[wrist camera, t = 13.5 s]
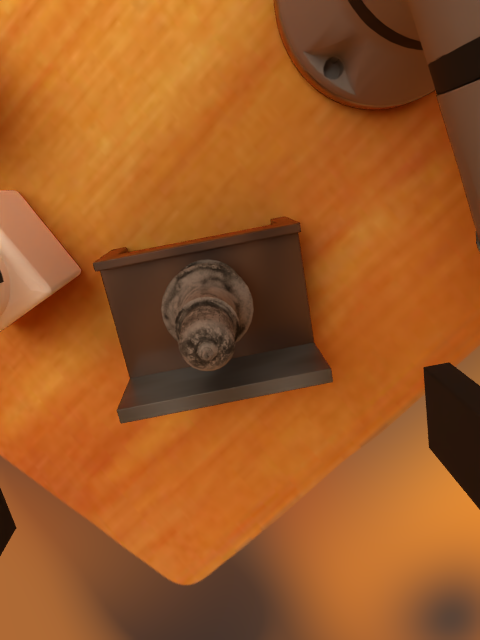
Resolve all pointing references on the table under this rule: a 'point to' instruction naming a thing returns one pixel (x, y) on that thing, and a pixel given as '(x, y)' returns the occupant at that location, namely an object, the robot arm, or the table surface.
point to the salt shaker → (207, 312)
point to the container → (28, 259)
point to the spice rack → (250, 351)
